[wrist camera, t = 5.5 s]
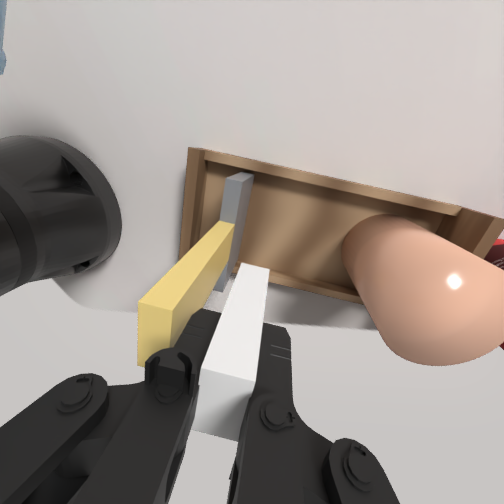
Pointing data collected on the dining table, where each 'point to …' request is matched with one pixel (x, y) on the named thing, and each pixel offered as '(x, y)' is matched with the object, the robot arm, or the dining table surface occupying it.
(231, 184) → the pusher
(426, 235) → the peach rounded capsule
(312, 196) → the brown wooden tray
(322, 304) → the dining table surface
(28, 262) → the robot arm
